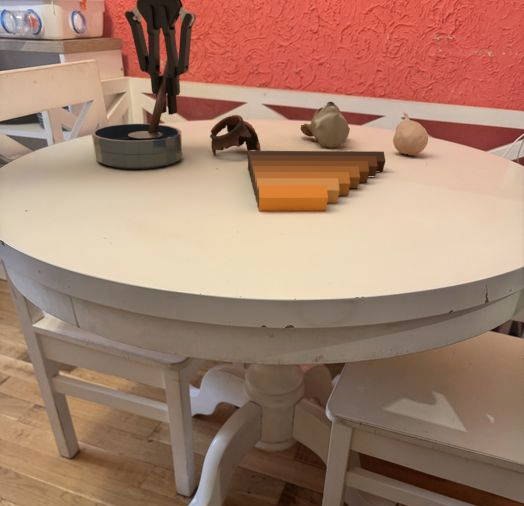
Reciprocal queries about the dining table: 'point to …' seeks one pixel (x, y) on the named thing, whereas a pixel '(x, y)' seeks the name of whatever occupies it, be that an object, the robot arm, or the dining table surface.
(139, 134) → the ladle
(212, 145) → the brown hollow curved piece
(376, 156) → the pan flute
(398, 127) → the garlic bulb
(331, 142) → the ceramic sculpture
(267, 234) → the dining table surface
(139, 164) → the bowl
